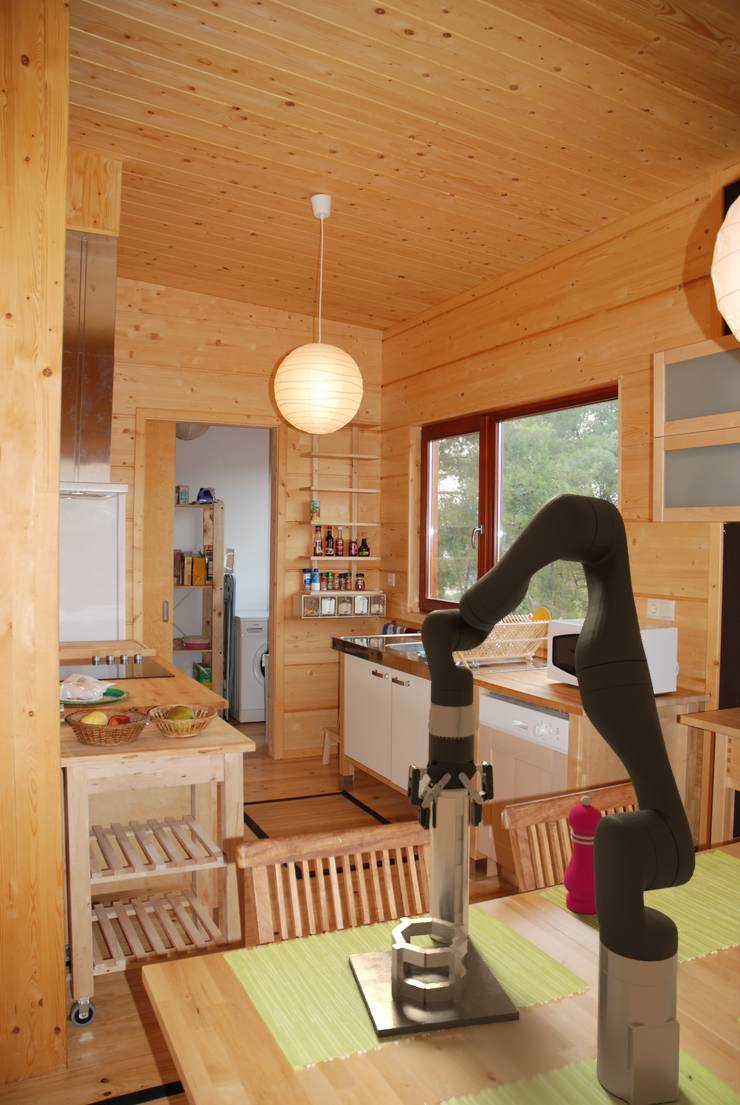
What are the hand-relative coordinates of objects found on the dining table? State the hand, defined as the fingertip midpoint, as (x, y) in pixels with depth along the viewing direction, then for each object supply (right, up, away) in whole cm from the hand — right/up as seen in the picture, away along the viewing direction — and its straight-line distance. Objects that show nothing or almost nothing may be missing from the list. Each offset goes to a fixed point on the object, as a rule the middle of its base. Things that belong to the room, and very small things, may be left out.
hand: (450, 826), depth 140 cm
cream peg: (0, -18, +1) cm, 18 cm away
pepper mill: (+25, -18, +11) cm, 33 cm away
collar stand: (-5, -19, -16) cm, 25 cm away
